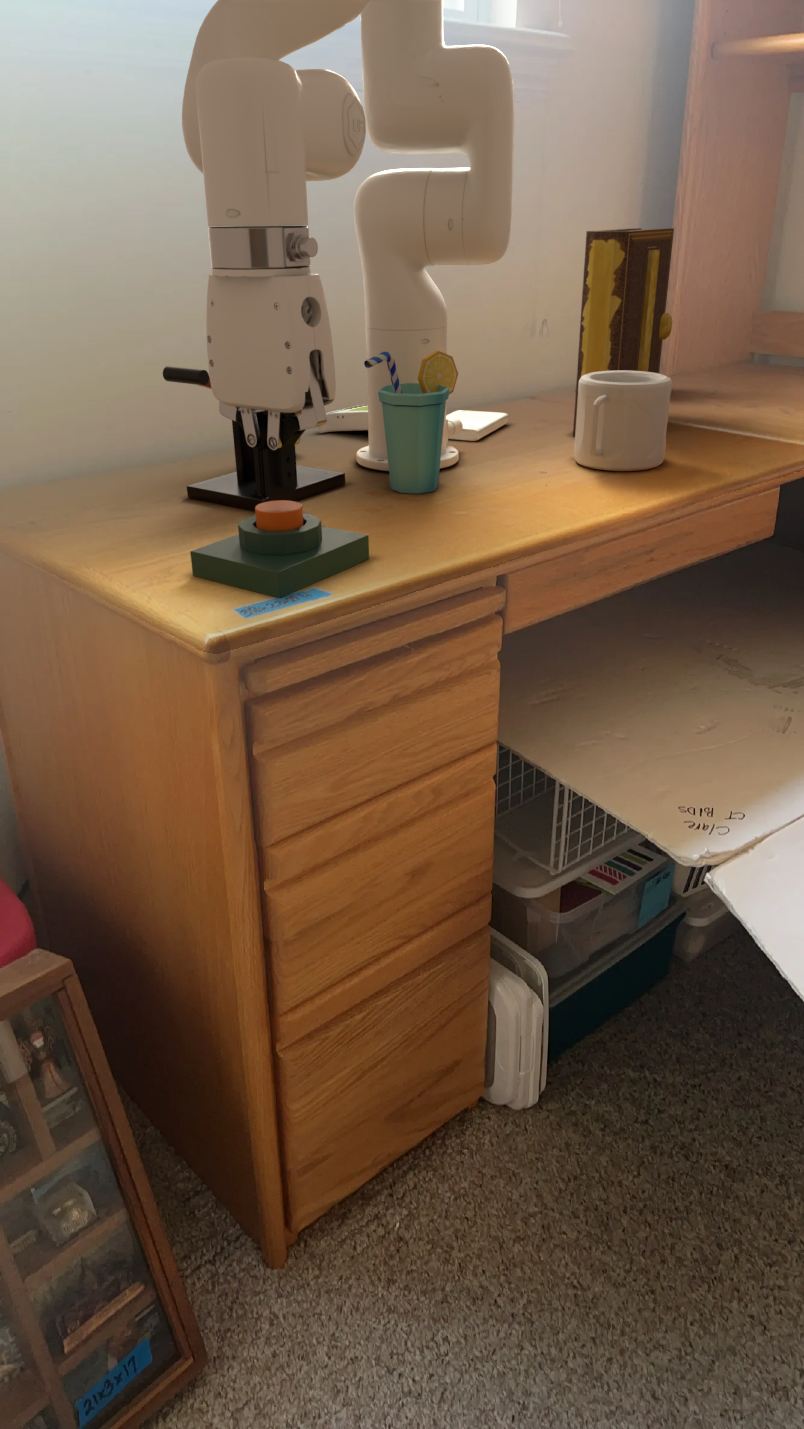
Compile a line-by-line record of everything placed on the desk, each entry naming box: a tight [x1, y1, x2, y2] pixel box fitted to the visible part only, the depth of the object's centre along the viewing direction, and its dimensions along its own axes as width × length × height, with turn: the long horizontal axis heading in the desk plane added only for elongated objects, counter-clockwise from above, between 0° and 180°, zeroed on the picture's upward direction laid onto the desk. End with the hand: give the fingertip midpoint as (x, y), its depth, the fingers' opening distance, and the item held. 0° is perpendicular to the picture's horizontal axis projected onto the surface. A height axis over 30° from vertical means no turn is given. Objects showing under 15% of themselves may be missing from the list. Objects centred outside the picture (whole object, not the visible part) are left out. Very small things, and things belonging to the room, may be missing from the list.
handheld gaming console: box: [317, 405, 368, 434], centre depth 137 cm, size 11×3×15 cm
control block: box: [189, 512, 370, 599], centre depth 85 cm, size 12×10×4 cm
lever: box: [162, 365, 212, 390], centre depth 101 cm, size 13×5×2 cm, turn 145°
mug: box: [573, 370, 673, 472], centre depth 116 cm, size 14×11×10 cm
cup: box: [363, 351, 459, 495], centre depth 106 cm, size 14×8×15 cm, turn 143°
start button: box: [254, 500, 304, 530], centre depth 84 cm, size 4×4×2 cm
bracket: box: [186, 412, 346, 512], centre depth 107 cm, size 14×11×12 cm
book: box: [572, 227, 675, 437], centre depth 135 cm, size 22×8×25 cm, turn 151°
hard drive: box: [446, 409, 509, 442], centre depth 138 cm, size 2×8×12 cm
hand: (276, 493), depth 83 cm, fingers closed
